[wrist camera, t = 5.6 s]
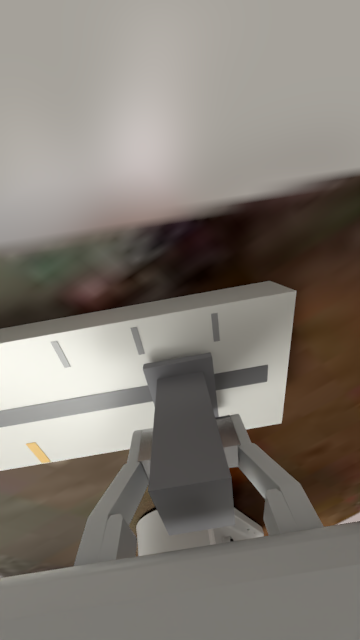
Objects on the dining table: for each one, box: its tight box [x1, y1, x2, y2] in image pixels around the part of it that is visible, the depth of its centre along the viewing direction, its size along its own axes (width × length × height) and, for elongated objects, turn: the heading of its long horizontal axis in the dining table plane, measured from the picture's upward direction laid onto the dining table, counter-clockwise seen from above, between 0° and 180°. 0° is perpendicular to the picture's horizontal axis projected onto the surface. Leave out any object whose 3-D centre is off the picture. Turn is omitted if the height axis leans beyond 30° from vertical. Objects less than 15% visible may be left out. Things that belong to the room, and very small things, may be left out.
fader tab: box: [143, 352, 235, 536], centre depth 10 cm, size 4×6×6 cm
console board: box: [0, 281, 296, 471], centre depth 14 cm, size 30×12×3 cm, turn 99°
